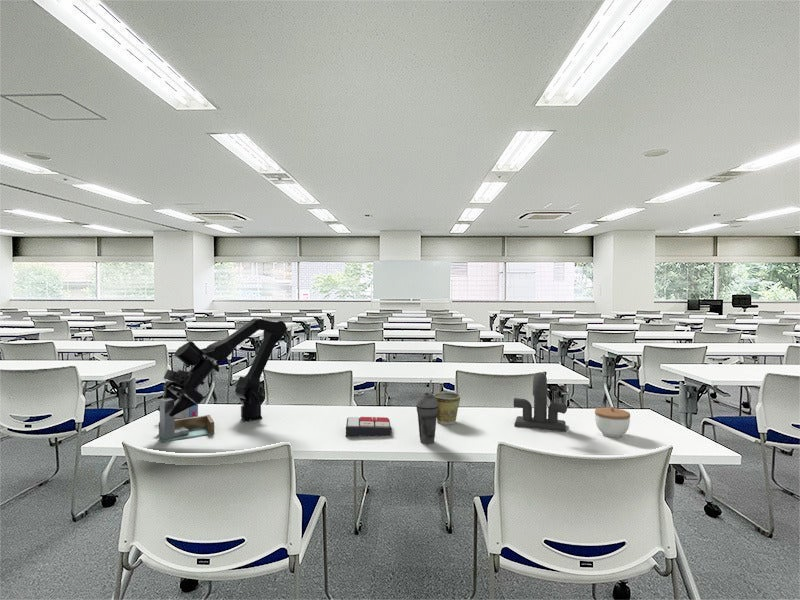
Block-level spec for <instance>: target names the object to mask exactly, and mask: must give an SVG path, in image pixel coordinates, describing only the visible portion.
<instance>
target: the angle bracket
mask: <svg viewBox="0 0 800 600" xmlns="http://www.w3.org/2000/svg"><path fill="white" fill-rule="evenodd" d="M159 405H160V411H159V422H160V437H159V439H160V438H162V439H164V440H167V439H171V438H176V437H180V436H184V435H188V434H189V430H188V429H186V428H184V427H183V428H178V429H175V420H176V418H174V416H172V417H171V416H169V414H170V412H171V410H172V409H173V408H174V399H171V398H165V399H163V398H160V399H159Z"/></svg>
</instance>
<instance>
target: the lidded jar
mask: <svg viewBox="0 0 800 600" xmlns="http://www.w3.org/2000/svg"><path fill="white" fill-rule="evenodd" d="M594 417H595V419H594V421H595V425H596V427H597V429H598V430H599V431H600V432H601V434H602V435H603V436H606V437H609V438H617V439H618V438H622V437H623V435H625V434H626V433H627V431H628V430H629V428H630V422H631V413H630V412H629V411H627V410H624V409H621V408H615V407H614V406H610V407H598V408H595V409H594Z"/></svg>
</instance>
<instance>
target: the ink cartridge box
mask: <svg viewBox="0 0 800 600" xmlns="http://www.w3.org/2000/svg"><path fill="white" fill-rule="evenodd" d="M196 390H197V391H198V392H199V387H198V388H197V389H196ZM177 397H178V396H177ZM178 400H179V399H178ZM178 400H176V401H175V402H174V406H175V405H176V403H177V402H178ZM198 416H199V404H197V403H196V405H194V406H192V407H190V408H187V409H185V410H184V411H182V412H180V413H178V414H176V415H174V418H175V419H184V418H191V417H198Z"/></svg>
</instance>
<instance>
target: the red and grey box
mask: <svg viewBox="0 0 800 600" xmlns="http://www.w3.org/2000/svg"><path fill="white" fill-rule="evenodd" d="M345 425H346V426H345V437H346V438H359V437H390V436H391V435H392V427H391V420H390V419H389V417H384V416H383V417H381V416H360V417H359V416H358V417H357V416H349V417H347V419H346V424H345Z"/></svg>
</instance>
